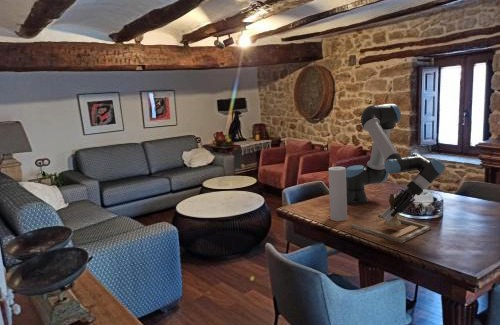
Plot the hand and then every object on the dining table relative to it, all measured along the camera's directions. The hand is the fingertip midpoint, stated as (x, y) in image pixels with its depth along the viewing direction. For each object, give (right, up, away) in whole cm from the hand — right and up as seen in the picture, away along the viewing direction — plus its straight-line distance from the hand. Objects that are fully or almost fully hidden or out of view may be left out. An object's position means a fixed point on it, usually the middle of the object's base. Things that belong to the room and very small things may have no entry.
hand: (384, 218), depth 188 cm
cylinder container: (-18, -4, +23) cm, 30 cm away
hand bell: (+4, -3, 0) cm, 5 cm away
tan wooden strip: (+8, -6, -4) cm, 11 cm away
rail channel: (+4, -6, +3) cm, 7 cm away
